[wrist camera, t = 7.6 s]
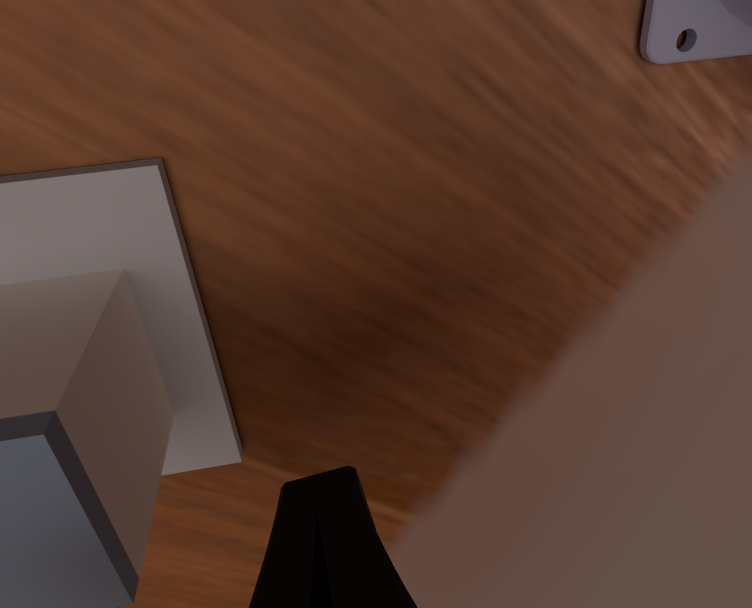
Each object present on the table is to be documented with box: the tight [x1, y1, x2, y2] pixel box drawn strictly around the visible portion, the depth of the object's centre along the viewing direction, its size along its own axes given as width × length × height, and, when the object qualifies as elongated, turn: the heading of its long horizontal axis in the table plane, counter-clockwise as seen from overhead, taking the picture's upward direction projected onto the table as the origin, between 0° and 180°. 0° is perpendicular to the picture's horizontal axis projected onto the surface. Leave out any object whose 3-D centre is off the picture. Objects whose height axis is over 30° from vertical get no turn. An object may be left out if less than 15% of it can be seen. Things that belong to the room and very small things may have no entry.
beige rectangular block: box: [0, 269, 174, 608], centre depth 13 cm, size 3×5×6 cm, turn 5°
